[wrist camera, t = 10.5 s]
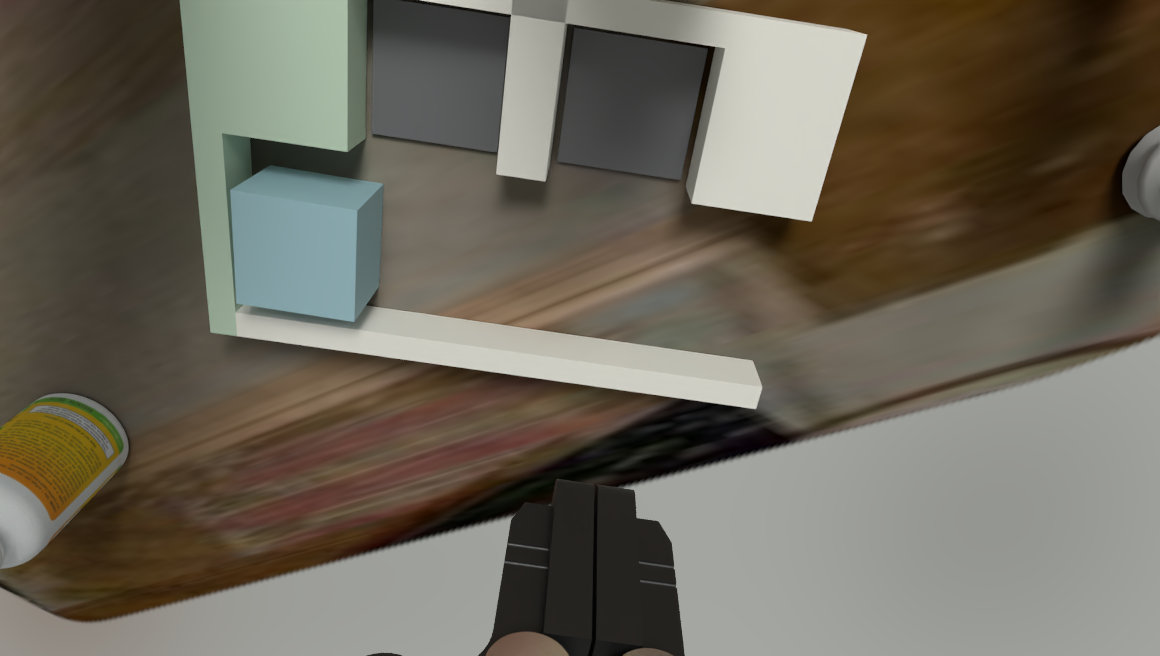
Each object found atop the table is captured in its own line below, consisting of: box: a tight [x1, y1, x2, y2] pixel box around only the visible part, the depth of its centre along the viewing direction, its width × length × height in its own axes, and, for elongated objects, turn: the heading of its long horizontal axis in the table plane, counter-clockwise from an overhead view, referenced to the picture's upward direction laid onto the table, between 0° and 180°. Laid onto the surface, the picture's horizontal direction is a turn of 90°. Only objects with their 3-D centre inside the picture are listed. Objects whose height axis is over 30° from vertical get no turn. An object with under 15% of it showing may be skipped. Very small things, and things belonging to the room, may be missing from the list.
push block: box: [230, 165, 384, 322], centre depth 32 cm, size 5×5×4 cm
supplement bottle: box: [0, 393, 129, 569], centre depth 35 cm, size 5×5×10 cm
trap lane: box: [180, 0, 867, 409], centre depth 31 cm, size 25×16×2 cm, turn 82°
